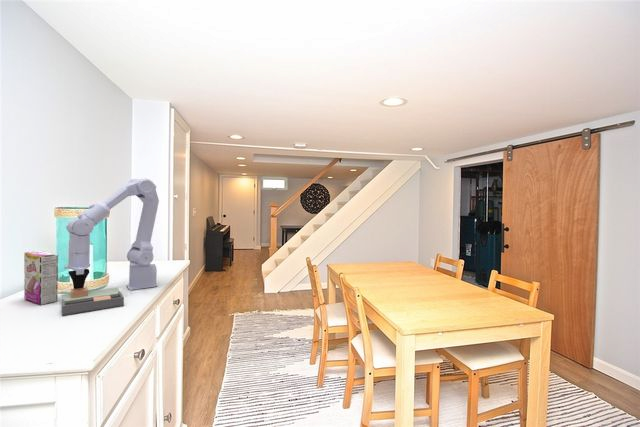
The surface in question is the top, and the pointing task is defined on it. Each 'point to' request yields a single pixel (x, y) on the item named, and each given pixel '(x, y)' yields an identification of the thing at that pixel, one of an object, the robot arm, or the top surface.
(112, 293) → the board
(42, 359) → the top surface
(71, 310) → the tray
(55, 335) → the top surface
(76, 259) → the robot arm
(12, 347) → the top surface
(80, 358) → the top surface
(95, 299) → the tile
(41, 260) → the candy bar box
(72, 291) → the tile
